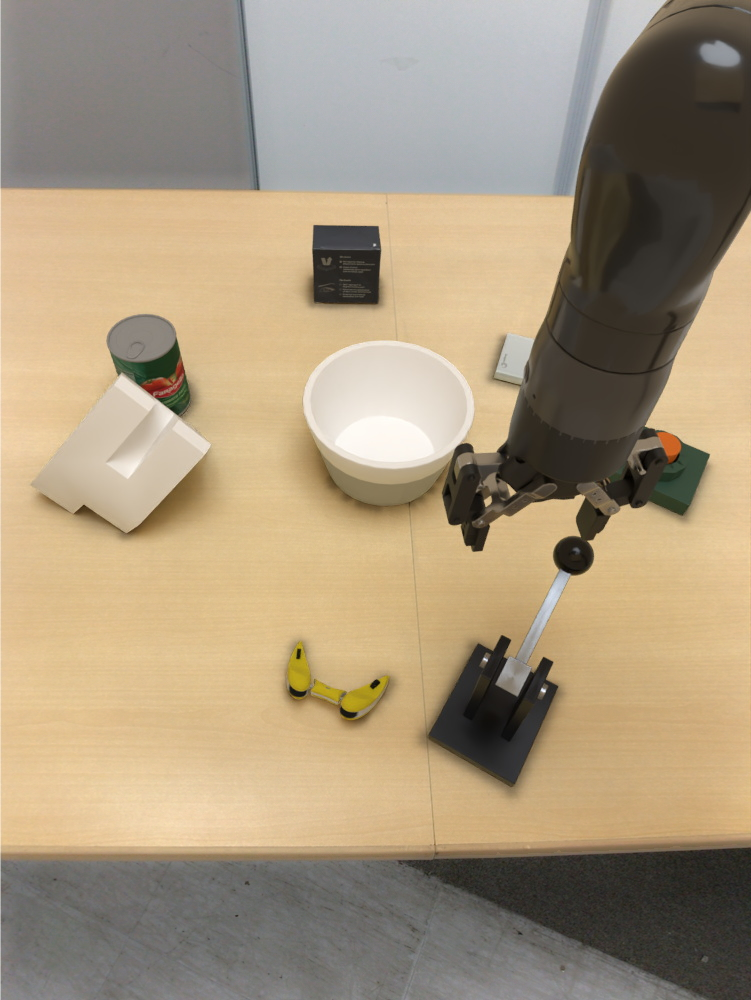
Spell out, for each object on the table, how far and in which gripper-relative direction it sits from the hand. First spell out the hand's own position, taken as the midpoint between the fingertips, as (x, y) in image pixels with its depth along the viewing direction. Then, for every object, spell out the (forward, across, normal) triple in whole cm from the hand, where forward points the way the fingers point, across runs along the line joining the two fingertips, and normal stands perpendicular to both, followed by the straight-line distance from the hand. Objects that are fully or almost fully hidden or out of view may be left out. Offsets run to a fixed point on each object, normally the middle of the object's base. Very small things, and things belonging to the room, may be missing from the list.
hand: (529, 536), depth 56 cm
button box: (+25, +27, +22) cm, 43 cm away
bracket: (+25, 0, -5) cm, 25 cm away
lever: (+14, +4, 0) cm, 15 cm away
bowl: (+25, -6, +27) cm, 38 cm away
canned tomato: (+25, -33, +40) cm, 57 cm away
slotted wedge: (+25, -34, +27) cm, 50 cm away
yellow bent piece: (+25, -15, -1) cm, 29 cm away
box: (+25, -7, +59) cm, 64 cm away
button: (+21, +27, +22) cm, 41 cm away
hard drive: (+25, +18, +40) cm, 51 cm away
